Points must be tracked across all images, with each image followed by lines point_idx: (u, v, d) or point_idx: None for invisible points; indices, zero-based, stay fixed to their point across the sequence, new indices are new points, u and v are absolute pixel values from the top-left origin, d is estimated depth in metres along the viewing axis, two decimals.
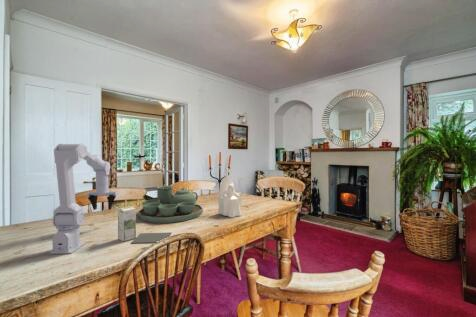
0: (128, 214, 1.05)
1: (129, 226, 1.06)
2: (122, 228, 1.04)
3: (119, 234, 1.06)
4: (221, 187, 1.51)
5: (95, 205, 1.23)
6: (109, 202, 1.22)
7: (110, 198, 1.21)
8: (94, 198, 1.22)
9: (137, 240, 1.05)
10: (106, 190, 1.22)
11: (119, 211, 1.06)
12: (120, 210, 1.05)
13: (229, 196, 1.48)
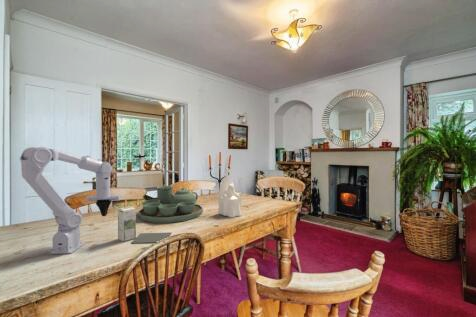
0: (128, 214, 1.05)
1: (129, 226, 1.06)
2: (122, 228, 1.04)
3: (119, 234, 1.06)
4: (221, 187, 1.51)
5: None
6: (104, 208, 1.08)
7: (105, 203, 1.07)
8: None
9: (137, 240, 1.05)
10: (108, 194, 1.08)
11: (119, 211, 1.06)
12: (120, 210, 1.05)
13: (229, 196, 1.48)
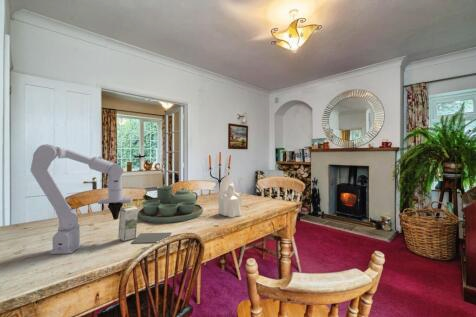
0: (130, 214, 1.05)
1: (130, 225, 1.06)
2: (123, 228, 1.04)
3: (120, 233, 1.06)
4: (221, 187, 1.51)
5: None
6: (115, 211, 1.05)
7: (117, 206, 1.05)
8: None
9: (137, 240, 1.05)
10: (120, 197, 1.06)
11: (121, 210, 1.06)
12: (122, 209, 1.06)
13: (229, 196, 1.48)
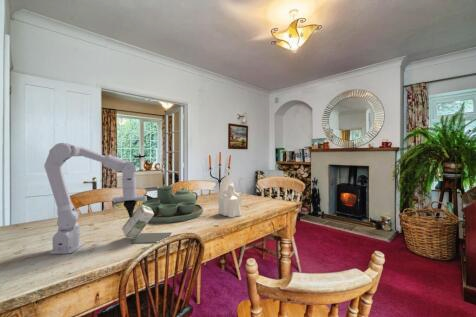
0: (145, 216, 1.06)
1: (139, 226, 1.06)
2: (132, 225, 1.05)
3: (126, 226, 1.07)
4: (221, 187, 1.51)
5: None
6: (130, 209, 1.06)
7: (131, 204, 1.05)
8: None
9: (137, 240, 1.05)
10: (134, 195, 1.07)
11: (140, 208, 1.07)
12: (141, 208, 1.06)
13: (229, 196, 1.48)
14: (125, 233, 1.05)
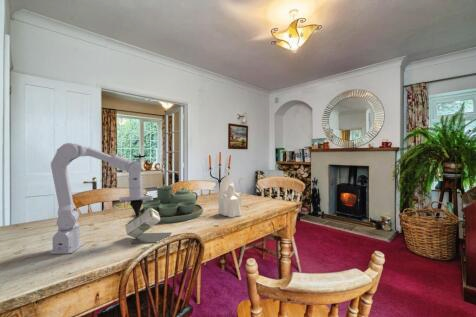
0: (152, 220, 1.06)
1: (143, 228, 1.06)
2: (137, 225, 1.05)
3: (130, 224, 1.07)
4: (221, 187, 1.51)
5: None
6: (137, 208, 1.06)
7: (138, 204, 1.05)
8: None
9: (137, 240, 1.05)
10: (141, 194, 1.07)
11: (149, 210, 1.07)
12: (150, 211, 1.07)
13: (229, 196, 1.48)
14: (127, 231, 1.05)
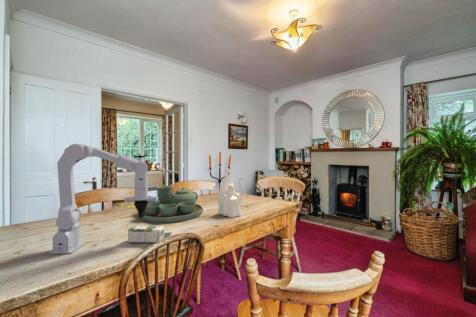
0: None
1: None
2: (141, 240, 1.02)
3: (133, 233, 1.02)
4: (221, 187, 1.51)
5: None
6: (142, 209, 1.05)
7: (143, 204, 1.05)
8: None
9: None
10: (146, 195, 1.06)
11: (157, 233, 1.02)
12: (158, 235, 1.02)
13: (229, 196, 1.48)
14: (129, 239, 1.03)
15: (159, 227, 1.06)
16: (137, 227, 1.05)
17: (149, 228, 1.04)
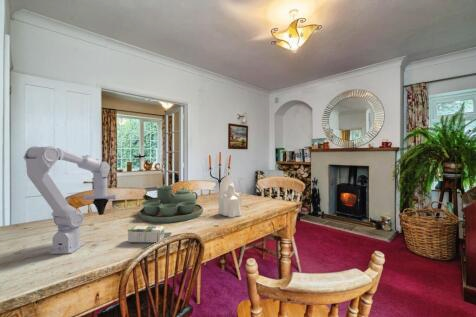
0: None
1: None
2: (141, 240, 1.02)
3: (133, 233, 1.02)
4: (221, 187, 1.51)
5: None
6: (101, 207, 1.10)
7: (102, 202, 1.09)
8: None
9: None
10: (105, 193, 1.10)
11: (157, 233, 1.02)
12: (158, 235, 1.02)
13: (229, 196, 1.48)
14: (129, 239, 1.03)
15: (159, 227, 1.06)
16: (137, 227, 1.05)
17: (149, 228, 1.04)
